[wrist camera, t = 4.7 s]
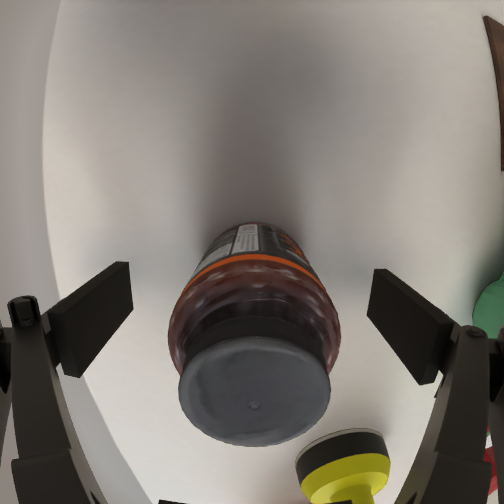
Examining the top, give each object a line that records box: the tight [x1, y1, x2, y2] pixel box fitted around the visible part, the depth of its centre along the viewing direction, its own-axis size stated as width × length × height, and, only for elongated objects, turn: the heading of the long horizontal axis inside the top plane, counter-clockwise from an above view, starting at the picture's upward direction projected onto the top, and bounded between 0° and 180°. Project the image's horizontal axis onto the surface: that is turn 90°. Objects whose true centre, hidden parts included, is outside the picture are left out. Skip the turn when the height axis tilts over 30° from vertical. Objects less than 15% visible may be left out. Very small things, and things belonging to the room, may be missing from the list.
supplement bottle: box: [168, 223, 341, 447], centre depth 12 cm, size 6×6×11 cm
